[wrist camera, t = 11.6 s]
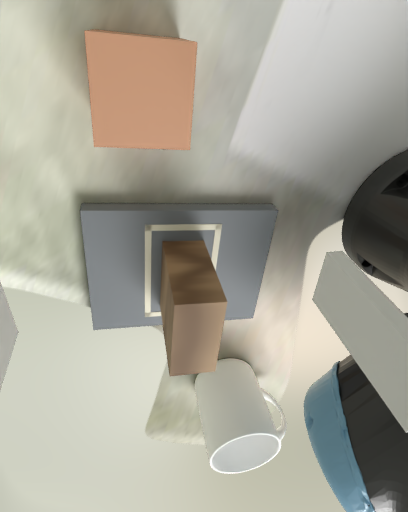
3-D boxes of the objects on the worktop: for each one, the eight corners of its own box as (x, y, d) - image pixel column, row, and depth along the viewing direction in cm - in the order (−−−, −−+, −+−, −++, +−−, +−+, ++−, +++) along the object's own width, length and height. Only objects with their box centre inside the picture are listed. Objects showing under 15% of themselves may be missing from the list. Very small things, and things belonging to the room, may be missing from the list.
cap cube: (179, 38, 25) (197, 42, 19) (176, 124, 28) (189, 150, 22) (93, 29, 23) (84, 30, 18) (100, 120, 27) (94, 146, 21)
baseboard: (272, 203, 34) (278, 210, 33) (249, 309, 41) (253, 318, 40) (81, 203, 30) (79, 211, 29) (94, 320, 38) (93, 330, 36)
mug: (256, 399, 53) (282, 472, 44) (184, 393, 48) (198, 474, 40) (282, 361, 49) (318, 435, 40) (207, 352, 44) (228, 432, 36)
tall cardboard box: (203, 240, 33) (227, 301, 26) (196, 303, 37) (215, 371, 30) (162, 241, 32) (174, 305, 25) (160, 305, 36) (169, 376, 29)
